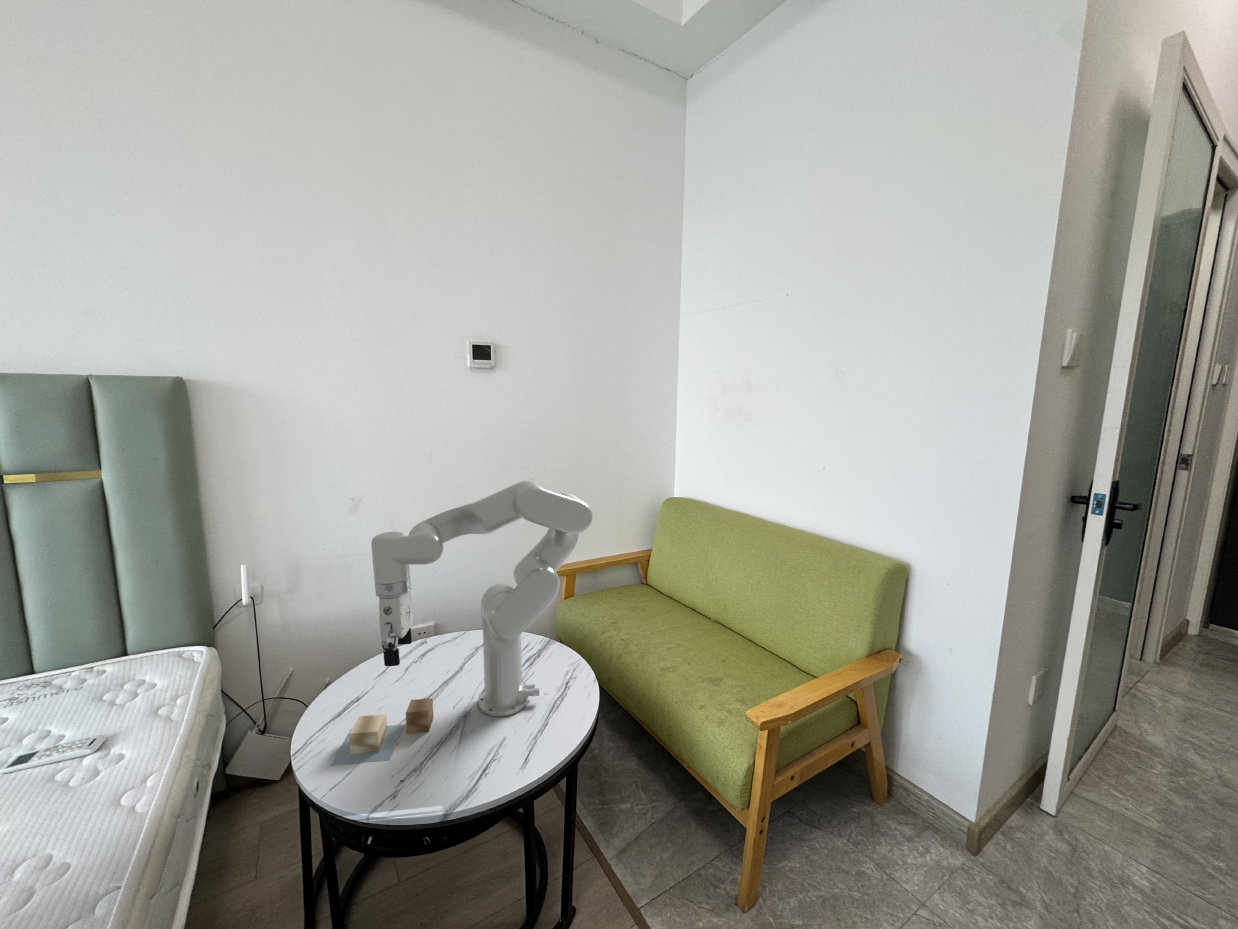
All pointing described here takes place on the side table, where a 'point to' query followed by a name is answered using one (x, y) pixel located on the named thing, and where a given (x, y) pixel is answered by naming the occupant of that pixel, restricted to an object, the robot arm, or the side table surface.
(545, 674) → the side table surface
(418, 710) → the walnut block
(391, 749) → the build plate
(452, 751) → the side table surface
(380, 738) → the beech block
